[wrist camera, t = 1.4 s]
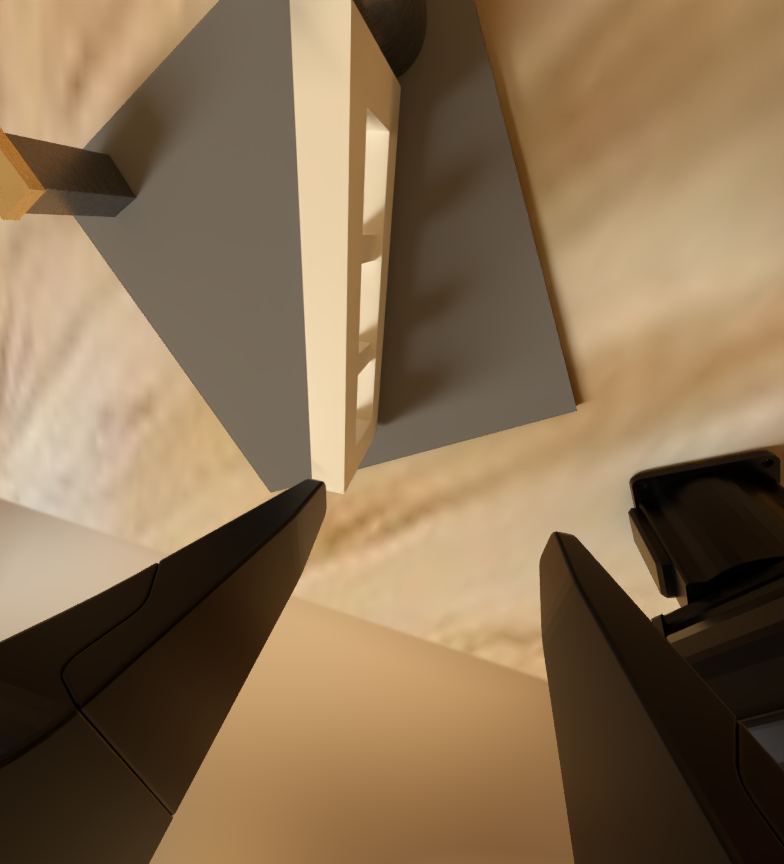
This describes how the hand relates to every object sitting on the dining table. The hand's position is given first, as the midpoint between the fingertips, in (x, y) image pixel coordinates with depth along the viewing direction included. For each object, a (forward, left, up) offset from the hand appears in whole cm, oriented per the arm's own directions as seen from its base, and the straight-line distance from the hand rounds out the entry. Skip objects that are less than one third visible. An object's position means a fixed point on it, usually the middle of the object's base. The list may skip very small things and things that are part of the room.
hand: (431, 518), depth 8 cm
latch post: (+14, -15, -13) cm, 24 cm away
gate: (+3, -5, -12) cm, 13 cm away
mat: (+6, -6, -13) cm, 16 cm away
